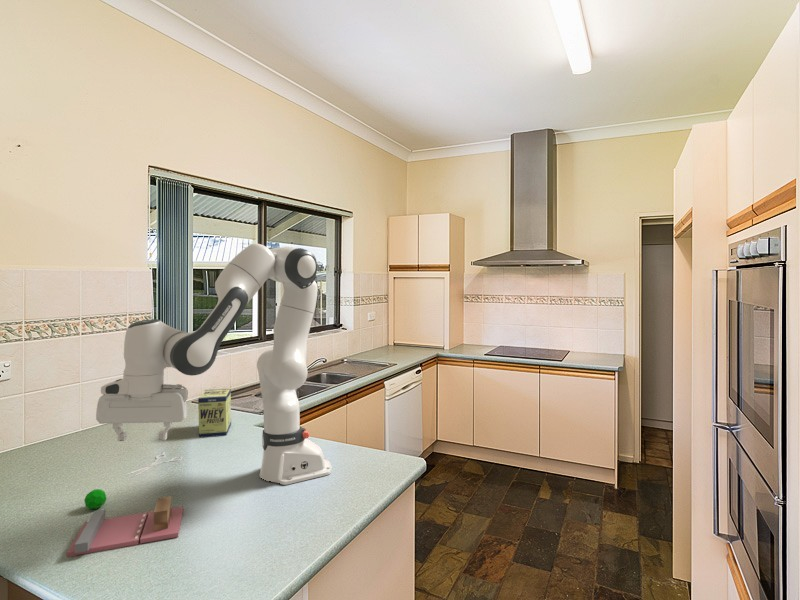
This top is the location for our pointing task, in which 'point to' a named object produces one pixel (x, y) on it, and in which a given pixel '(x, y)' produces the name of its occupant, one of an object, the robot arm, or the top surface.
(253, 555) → the top surface
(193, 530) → the top surface
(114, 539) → the ticket
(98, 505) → the polyhedron
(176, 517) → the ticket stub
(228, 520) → the top surface
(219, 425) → the protein box
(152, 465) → the scissors
